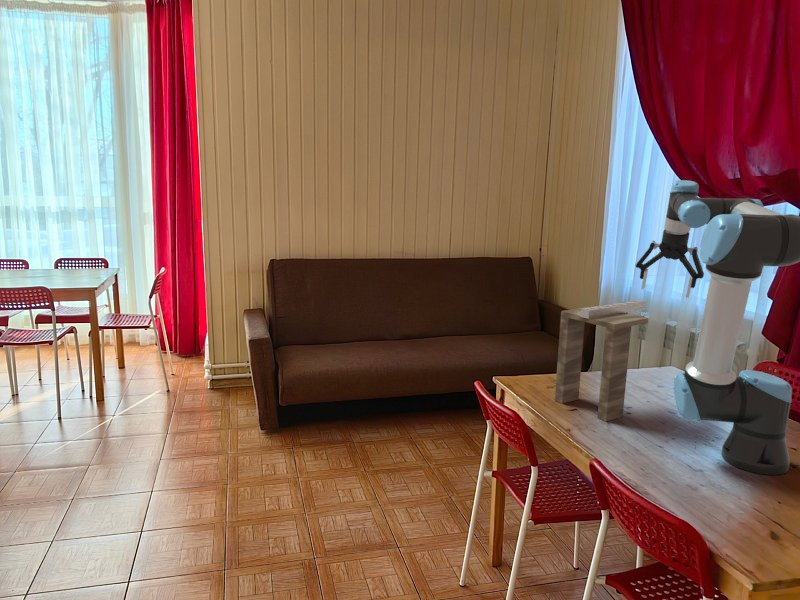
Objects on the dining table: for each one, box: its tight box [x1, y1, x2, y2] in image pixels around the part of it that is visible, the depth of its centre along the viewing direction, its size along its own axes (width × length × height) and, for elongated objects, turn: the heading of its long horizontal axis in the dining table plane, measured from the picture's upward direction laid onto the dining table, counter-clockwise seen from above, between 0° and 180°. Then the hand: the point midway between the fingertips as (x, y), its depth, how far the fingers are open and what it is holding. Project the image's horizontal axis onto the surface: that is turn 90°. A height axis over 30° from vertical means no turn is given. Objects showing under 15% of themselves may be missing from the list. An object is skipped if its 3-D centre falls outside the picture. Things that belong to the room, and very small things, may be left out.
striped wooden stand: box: [554, 305, 649, 422], centre depth 189 cm, size 20×16×30 cm
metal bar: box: [581, 299, 647, 319], centre depth 188 cm, size 3×28×2 cm, turn 124°
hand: (665, 291), depth 197 cm, fingers open, 13 cm apart
